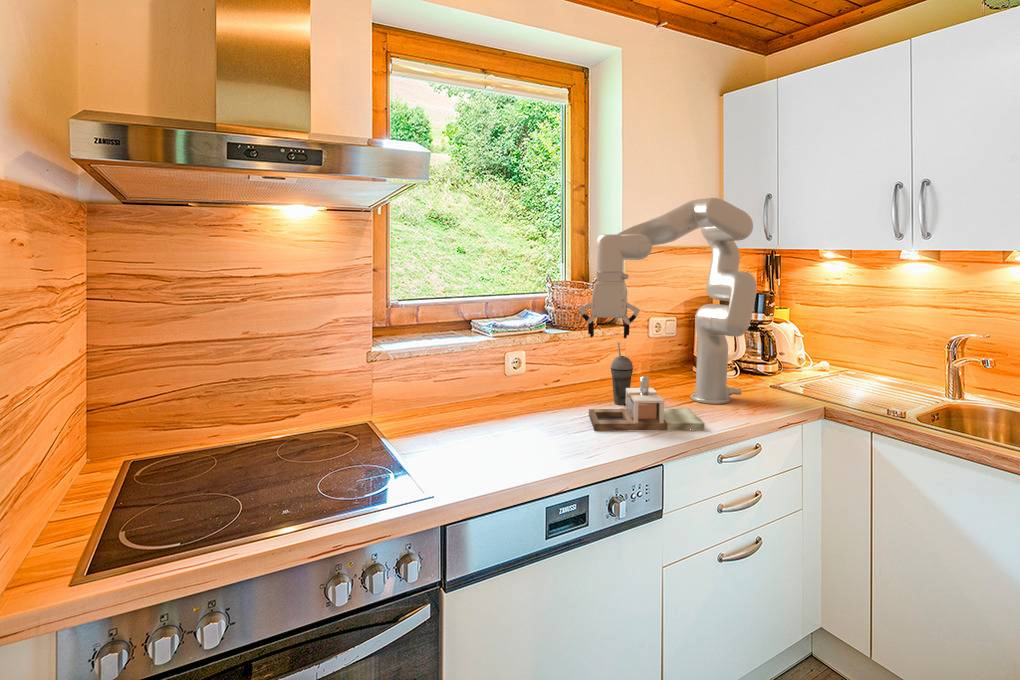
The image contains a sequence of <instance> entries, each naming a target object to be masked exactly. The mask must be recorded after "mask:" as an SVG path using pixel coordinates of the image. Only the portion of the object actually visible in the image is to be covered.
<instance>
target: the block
mask: <svg viewBox="0 0 1020 680" xmlns="http://www.w3.org/2000/svg"><path fill="white" fill-rule="evenodd" d="M633 402H634V401H633ZM656 414H657V405H656V403H638V419H656Z"/></svg>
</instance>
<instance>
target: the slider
mask: <svg viewBox="0 0 1020 680" xmlns="http://www.w3.org/2000/svg"><path fill="white" fill-rule="evenodd" d="M639 380H640V381H639V388H640V395H649V388H650V387H649V386H650V385H649V384H650V376H647V375H641V376H640V377H639ZM656 405H657V414H656V415H657V417H658V418H659V405H660V403H656ZM627 412H628V413H629V415H630V417H631V418H632V419H634V402H633V400H632V398H631V396H630V397H628V401H627Z"/></svg>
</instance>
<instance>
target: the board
mask: <svg viewBox="0 0 1020 680" xmlns="http://www.w3.org/2000/svg"><path fill="white" fill-rule="evenodd" d="M588 417H589V419H590V423H591V426H592V429H593V430H594V431H598V432H599V431H600V432H601V431H602V432H603V431H604V432H606V431H607V432H609V431H610V432H613V431H616V432H617V431H619V432H621V431H622V432H623V431H627V432H628V430H659V431H705V422H703V420H701V418H699V417H698V415H696V414H695V412H693V411H692V410H691V409H690V408H664V423H659V418H658V417H657V415H656V419H638V423H634V419H632V418H631V417H630V415H629V413H628V412H627V410H626V408H588ZM690 429H691V430H690Z"/></svg>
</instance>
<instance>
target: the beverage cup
mask: <svg viewBox="0 0 1020 680" xmlns="http://www.w3.org/2000/svg"><path fill="white" fill-rule="evenodd" d="M620 345H621V344H620V342H619V341H618V342H617V346H618V347H617V348H618V356H617V357H615V358H614V359H613V360H612V362H611V364H610V372H611V377H612V379H611V380H612V391H613V393H612V394H613V401H614V402H613V404H615V405H617V404H619V406H625V405H624V404H626V388H631V385H632V384H631V382H632V375H633V371H634V367H633V365H634V364H633V362H632V360H631V359H630V358H629V357H627V356H626V355H625V356H624V355H621V354H622V353H621V347H620Z"/></svg>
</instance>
